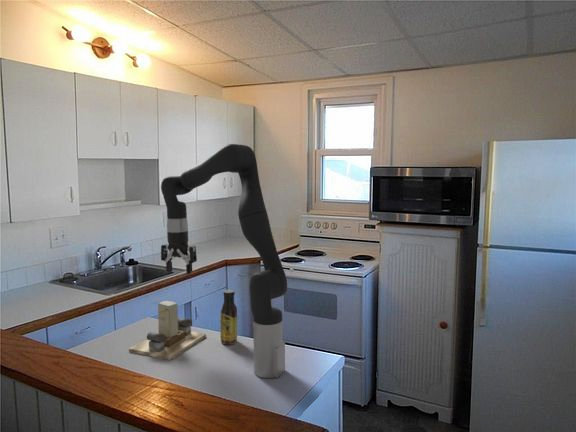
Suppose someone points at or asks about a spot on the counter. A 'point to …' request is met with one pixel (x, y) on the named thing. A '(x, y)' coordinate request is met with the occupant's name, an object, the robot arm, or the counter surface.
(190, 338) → the board
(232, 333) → the sauce bottle
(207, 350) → the counter surface
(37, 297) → the counter surface
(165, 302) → the skincare box
